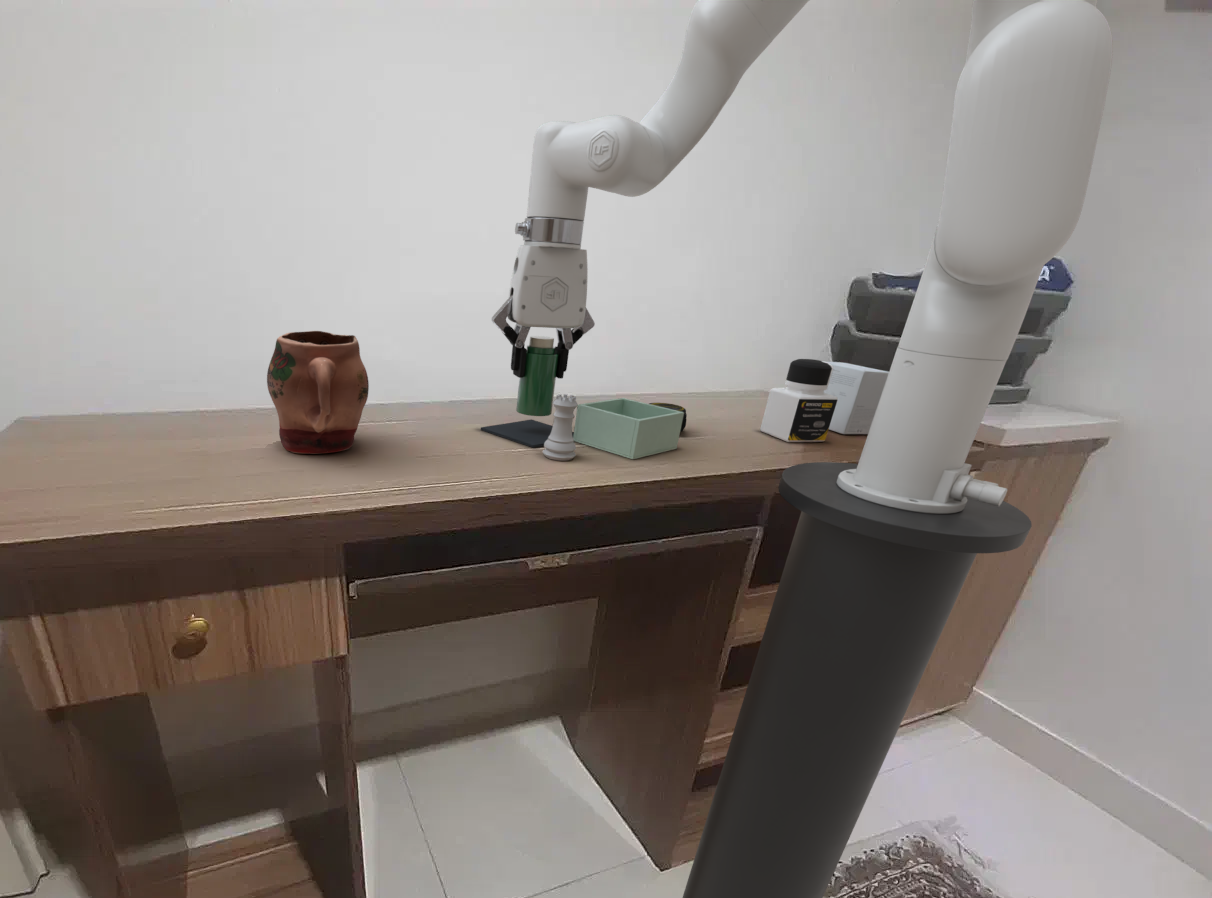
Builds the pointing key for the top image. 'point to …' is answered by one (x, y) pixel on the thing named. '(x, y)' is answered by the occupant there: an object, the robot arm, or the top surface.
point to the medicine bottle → (801, 404)
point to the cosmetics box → (855, 396)
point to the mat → (523, 432)
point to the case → (627, 427)
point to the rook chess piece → (562, 430)
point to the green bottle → (538, 378)
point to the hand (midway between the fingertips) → (537, 375)
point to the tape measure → (674, 407)
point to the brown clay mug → (317, 390)
